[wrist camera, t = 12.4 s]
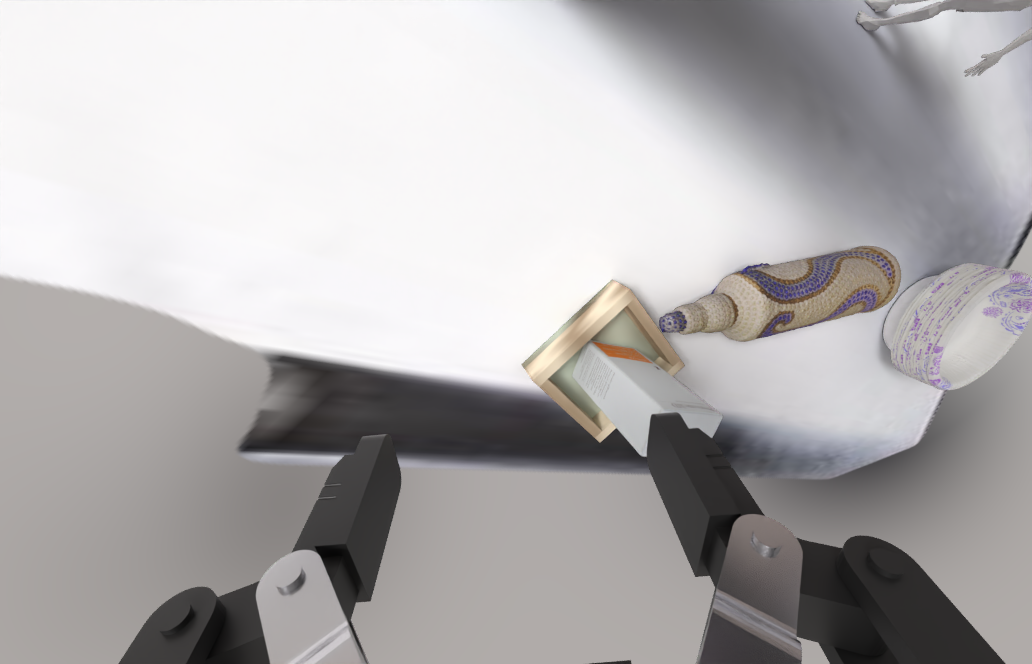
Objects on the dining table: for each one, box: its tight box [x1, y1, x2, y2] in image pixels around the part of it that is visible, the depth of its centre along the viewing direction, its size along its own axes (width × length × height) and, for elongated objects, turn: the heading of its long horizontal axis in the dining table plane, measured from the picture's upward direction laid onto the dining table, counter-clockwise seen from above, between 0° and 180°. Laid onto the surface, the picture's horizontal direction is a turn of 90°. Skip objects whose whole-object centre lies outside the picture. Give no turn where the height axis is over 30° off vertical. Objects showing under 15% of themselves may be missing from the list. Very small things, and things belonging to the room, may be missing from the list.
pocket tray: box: [522, 280, 685, 442], centre depth 39 cm, size 12×12×3 cm
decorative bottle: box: [659, 246, 901, 342], centre depth 40 cm, size 26×8×7 cm, turn 94°
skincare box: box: [572, 340, 723, 457], centre depth 34 cm, size 6×4×12 cm
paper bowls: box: [883, 263, 1032, 390], centre depth 50 cm, size 15×15×8 cm
